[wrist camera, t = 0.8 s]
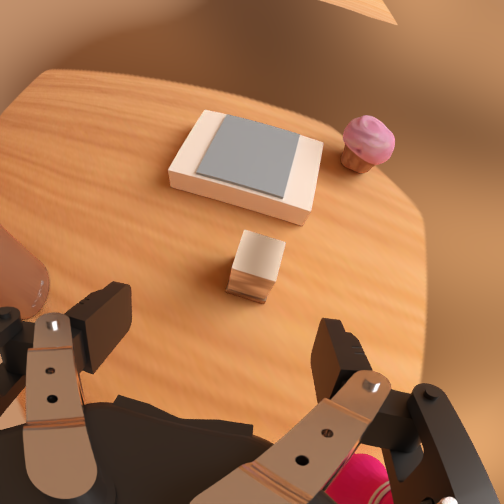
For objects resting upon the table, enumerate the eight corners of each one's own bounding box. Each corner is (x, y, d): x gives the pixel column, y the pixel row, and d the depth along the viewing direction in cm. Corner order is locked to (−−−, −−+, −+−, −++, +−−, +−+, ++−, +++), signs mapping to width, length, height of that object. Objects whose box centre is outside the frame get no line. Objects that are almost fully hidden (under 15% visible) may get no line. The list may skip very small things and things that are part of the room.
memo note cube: (225, 292, 37) (228, 269, 30) (236, 257, 39) (243, 227, 32) (264, 303, 37) (277, 284, 30) (273, 268, 39) (288, 241, 32)
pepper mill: (337, 504, 27) (427, 566, 8) (302, 477, 28) (383, 546, 10) (375, 465, 29) (483, 498, 11) (342, 437, 31) (451, 467, 13)
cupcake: (342, 139, 52) (361, 100, 43) (381, 164, 50) (406, 128, 41) (324, 165, 48) (344, 122, 39) (367, 193, 47) (395, 155, 38)
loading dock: (170, 187, 42) (167, 167, 38) (204, 126, 48) (204, 107, 44) (302, 226, 42) (311, 209, 38) (316, 158, 48) (324, 140, 44)
